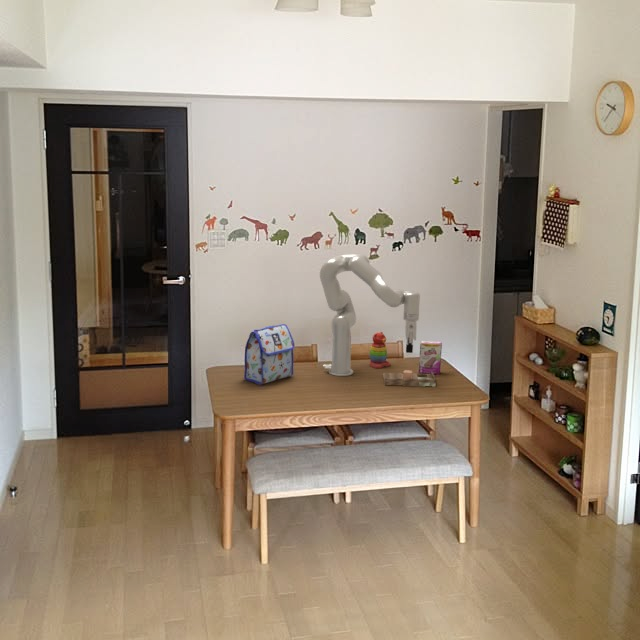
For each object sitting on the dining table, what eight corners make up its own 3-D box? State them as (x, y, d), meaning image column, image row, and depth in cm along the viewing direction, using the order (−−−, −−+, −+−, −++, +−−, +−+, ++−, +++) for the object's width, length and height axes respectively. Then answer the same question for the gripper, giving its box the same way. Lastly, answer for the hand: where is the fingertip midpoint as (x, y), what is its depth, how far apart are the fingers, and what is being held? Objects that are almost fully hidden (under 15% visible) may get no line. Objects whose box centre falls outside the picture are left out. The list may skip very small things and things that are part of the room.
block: (402, 380, 421) (403, 372, 421) (403, 377, 425) (404, 370, 425) (411, 380, 421) (411, 372, 420) (412, 378, 425) (412, 370, 424)
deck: (384, 385, 419) (384, 378, 418) (383, 376, 434) (383, 370, 433) (435, 386, 419) (435, 379, 418) (432, 377, 433) (432, 371, 433)
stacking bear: (378, 369, 447) (379, 336, 443) (364, 365, 454) (365, 332, 450) (392, 365, 454) (393, 333, 450) (378, 361, 461) (379, 329, 457)
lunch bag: (264, 387, 413) (264, 333, 407) (241, 379, 424) (241, 327, 418) (297, 377, 430) (298, 326, 424) (274, 371, 441) (274, 320, 434)
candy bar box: (418, 373, 440) (420, 343, 437) (418, 371, 445) (419, 340, 441) (440, 374, 439) (442, 344, 435) (440, 372, 444) (441, 341, 440)
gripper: (419, 320, 413) (417, 356, 417) (417, 313, 428) (415, 348, 432) (404, 319, 414) (402, 356, 418) (402, 313, 428) (401, 348, 432)
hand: (409, 352), depth 425 cm, fingers closed
